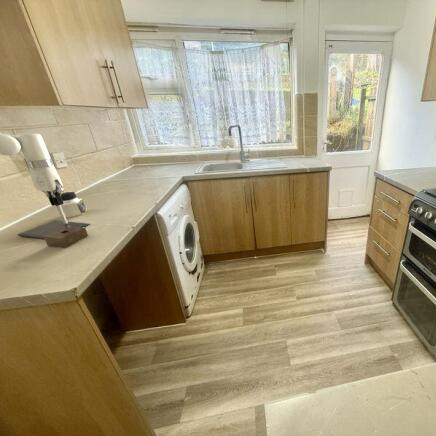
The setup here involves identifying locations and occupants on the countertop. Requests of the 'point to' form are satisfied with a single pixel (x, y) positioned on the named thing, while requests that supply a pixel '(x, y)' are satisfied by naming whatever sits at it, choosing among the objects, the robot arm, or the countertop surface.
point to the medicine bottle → (72, 205)
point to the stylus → (62, 214)
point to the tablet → (49, 229)
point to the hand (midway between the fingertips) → (57, 204)
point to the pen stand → (65, 236)
